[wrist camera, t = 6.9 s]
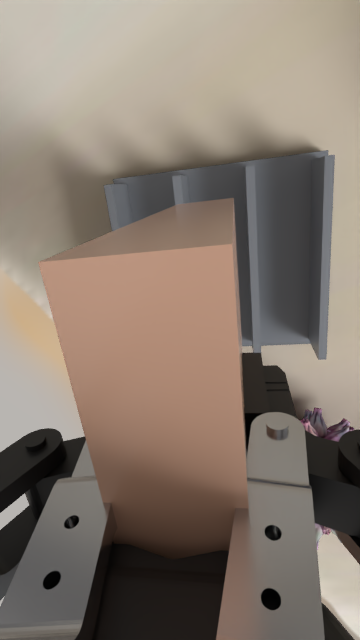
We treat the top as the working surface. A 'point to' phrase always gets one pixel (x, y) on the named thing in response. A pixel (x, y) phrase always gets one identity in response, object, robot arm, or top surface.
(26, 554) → the robot arm
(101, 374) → the tall peach block
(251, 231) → the rack
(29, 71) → the top surface
